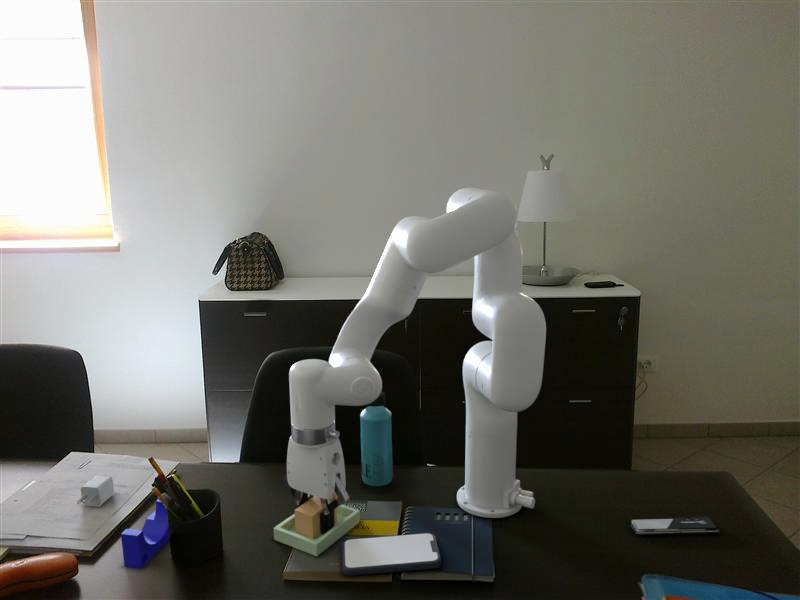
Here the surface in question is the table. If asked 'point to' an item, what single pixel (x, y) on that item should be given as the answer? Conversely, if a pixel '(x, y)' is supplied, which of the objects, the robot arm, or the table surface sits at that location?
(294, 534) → the shallow green tray
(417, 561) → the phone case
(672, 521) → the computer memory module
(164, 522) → the blue tape dispenser
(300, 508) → the wooden block
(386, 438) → the beverage bottle
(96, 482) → the usb wall charger
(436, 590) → the table surface
